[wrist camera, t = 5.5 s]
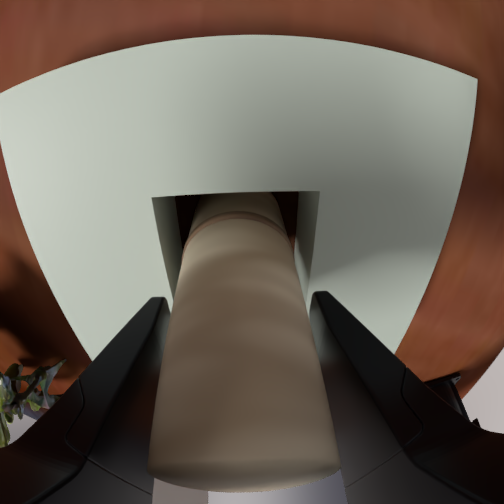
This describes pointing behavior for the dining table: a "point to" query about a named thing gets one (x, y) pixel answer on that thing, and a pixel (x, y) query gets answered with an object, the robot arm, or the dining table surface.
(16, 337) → the dining table surface
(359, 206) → the board
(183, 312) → the peg
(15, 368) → the passion flower
